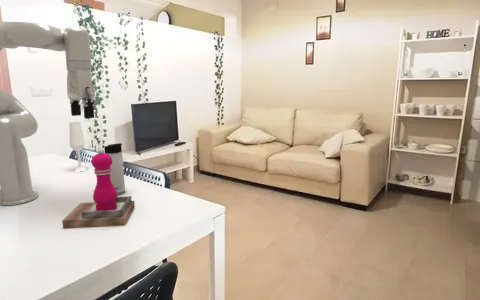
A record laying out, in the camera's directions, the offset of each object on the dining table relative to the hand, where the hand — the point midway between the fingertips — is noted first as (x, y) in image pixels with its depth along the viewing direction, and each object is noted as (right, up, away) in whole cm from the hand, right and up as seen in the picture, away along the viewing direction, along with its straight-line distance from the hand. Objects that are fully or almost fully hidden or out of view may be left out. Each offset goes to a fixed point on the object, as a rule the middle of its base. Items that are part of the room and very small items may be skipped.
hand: (82, 116), depth 111 cm
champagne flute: (-24, -22, +46) cm, 56 cm away
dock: (+11, -34, -9) cm, 36 cm away
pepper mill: (+12, -31, -9) cm, 35 cm away
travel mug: (+7, -29, +14) cm, 33 cm away
